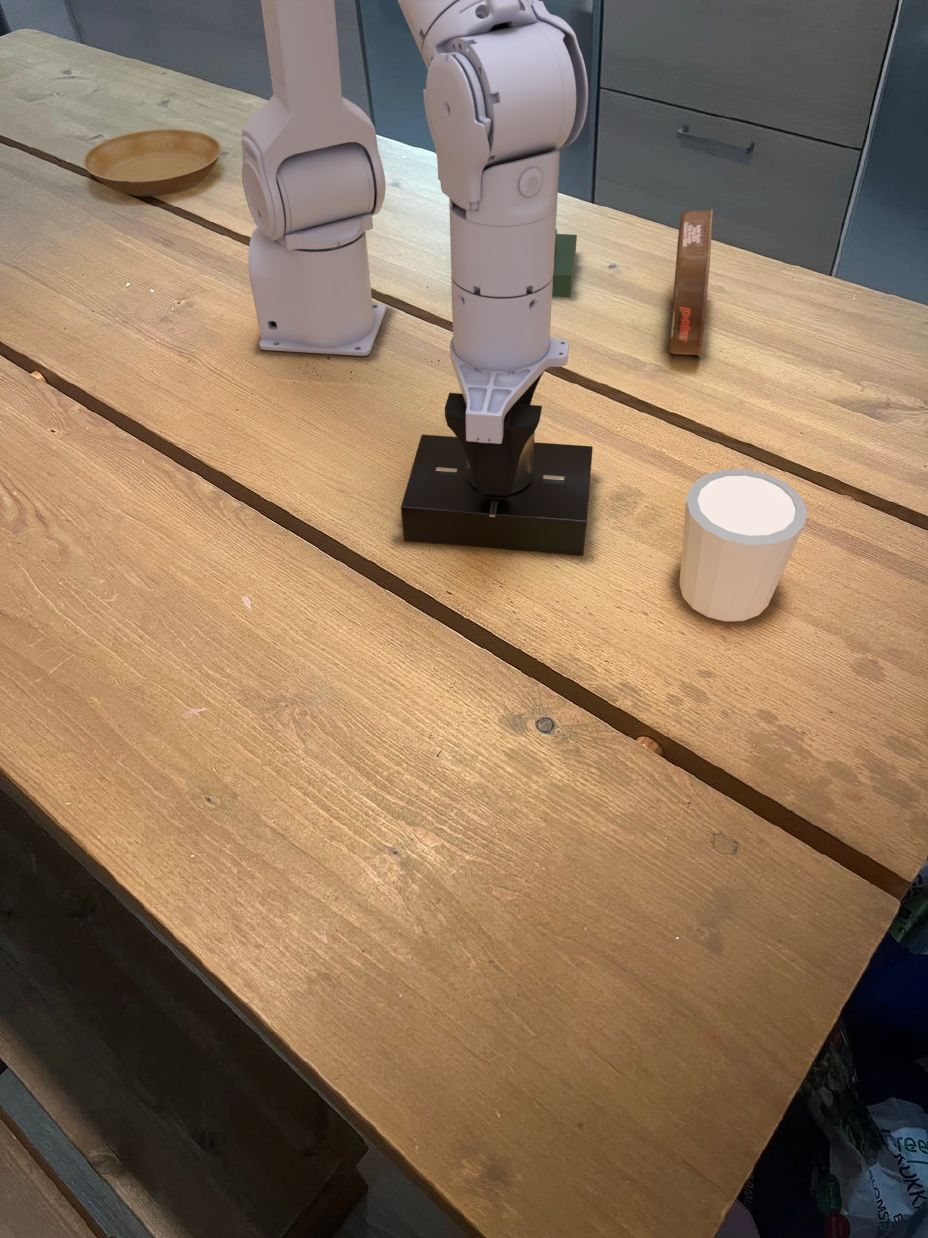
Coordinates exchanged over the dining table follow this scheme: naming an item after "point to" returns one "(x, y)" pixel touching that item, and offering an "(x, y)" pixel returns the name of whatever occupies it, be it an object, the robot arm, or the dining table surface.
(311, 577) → the dining table surface
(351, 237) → the robot arm
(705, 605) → the white cylinder
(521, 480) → the knob
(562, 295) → the button box
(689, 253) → the brown rectangular box
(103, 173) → the plant saucer
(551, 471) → the panel
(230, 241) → the dining table surface
